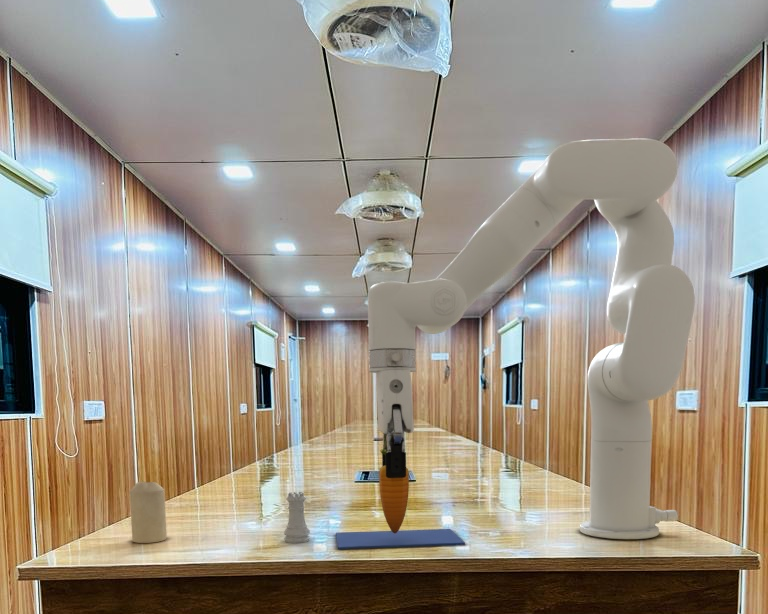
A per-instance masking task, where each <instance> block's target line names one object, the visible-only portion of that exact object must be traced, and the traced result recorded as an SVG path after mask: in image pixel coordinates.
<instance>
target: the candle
mask: <svg viewBox="0 0 768 614" xmlns="http://www.w3.org/2000/svg"><path fill="white" fill-rule="evenodd" d="M165 496H166V495H165V488H163V487H162V485H160V484H158V483H157V482H156V481H152V482H151V481H144V480H142V481H141V480H140V481H138V482H136V483H135V484H134V485H133V487H132V488H131V489H130V490H129V507H130V523H131V535H132V536H131V539H132V542H133V543H136V544H152V543H158V542H163V541H165V540H167V539H168V538H167V535H168V531H167V516H166V515H167V514H166V497H165Z"/></svg>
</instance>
